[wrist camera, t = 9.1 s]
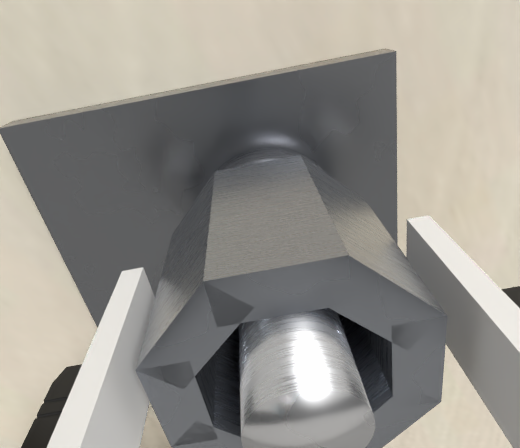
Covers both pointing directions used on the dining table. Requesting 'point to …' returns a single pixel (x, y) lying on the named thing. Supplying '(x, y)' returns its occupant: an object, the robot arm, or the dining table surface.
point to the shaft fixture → (187, 190)
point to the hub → (285, 299)
